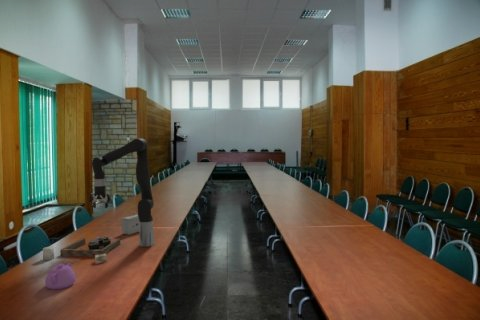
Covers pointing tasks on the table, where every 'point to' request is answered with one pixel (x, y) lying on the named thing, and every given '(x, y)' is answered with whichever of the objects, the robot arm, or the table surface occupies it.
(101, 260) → the birch block
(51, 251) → the white capsule cylinder
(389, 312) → the table surface
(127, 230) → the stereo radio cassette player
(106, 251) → the corral
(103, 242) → the camera
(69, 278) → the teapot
